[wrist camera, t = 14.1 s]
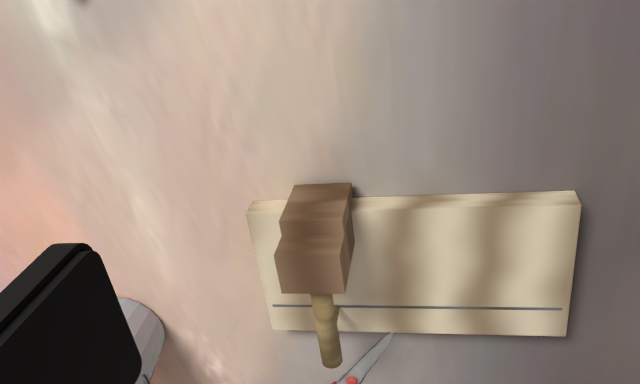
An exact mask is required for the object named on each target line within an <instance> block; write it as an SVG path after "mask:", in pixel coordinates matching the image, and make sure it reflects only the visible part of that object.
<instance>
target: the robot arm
mask: <svg viewBox="0 0 640 384" xmlns="http://www.w3.org/2000/svg"><path fill="white" fill-rule="evenodd" d="M141 368H142V359H141V355H140V353H139V350H138V348H137V345H136V343H135V340H134V338H133V335H132V333H131V331H130V328H129V326H128V323H127V321H126V318H125V316H124V313H123V311H122V308H121V306H120V303H119V301H118V298H117V296H116V294H115V291H114V289H113V286H112V284H111V281H110V279H109V276H108V274H107V271H106V269H105V266H104V264H103V261H102V259H101V257H100V255H99V254H98V253H97V252H95V251H93V250H92V248H91V247H90V246H89V245H88V244H84V243H59V244H53V245H51V246H50V247H48V248H47V249H46V250H45V251H44V252H43V253H42V254H41V255H40V256H38V257H37V258H36V259H35V260H34V261H33V262H32V263H31V264H30V265H29V266H28V267H27V268H26V269H25V270H24V271H23V272H22V273H21V274H20V275H19V276H18V277H16V278H15V279H14V280H13V281H12V282H11V283H10V284H9V285H8V286H7V287H6V288H5V289H4V290H3V291H2V292H1V293H0V384H135V383H136V381H137V379H138V378H139V375H140V373H141Z"/></svg>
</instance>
